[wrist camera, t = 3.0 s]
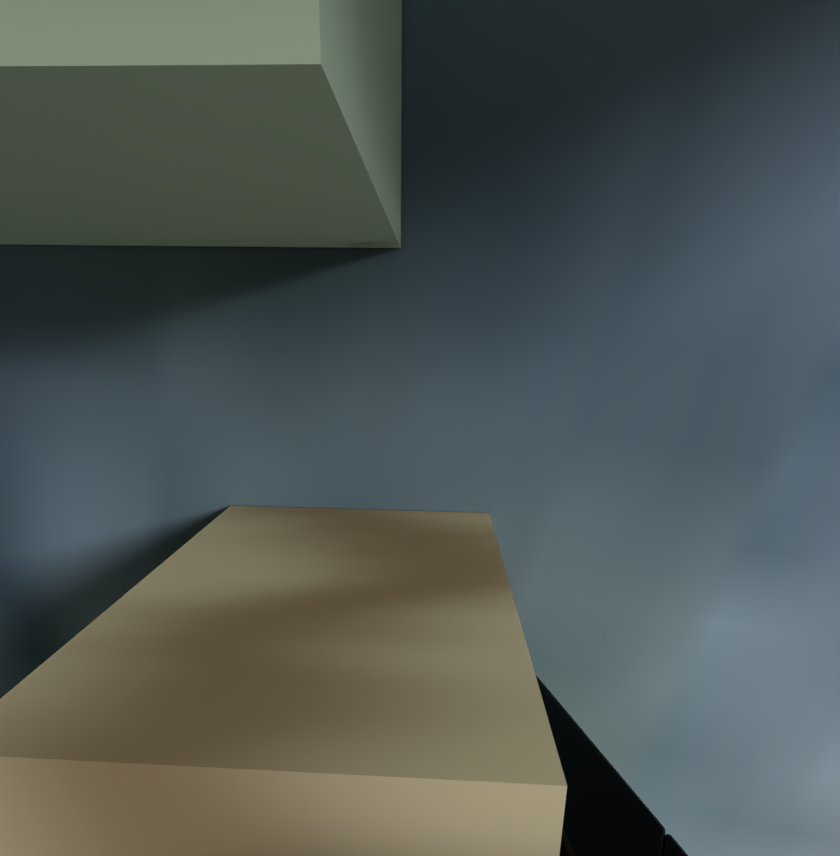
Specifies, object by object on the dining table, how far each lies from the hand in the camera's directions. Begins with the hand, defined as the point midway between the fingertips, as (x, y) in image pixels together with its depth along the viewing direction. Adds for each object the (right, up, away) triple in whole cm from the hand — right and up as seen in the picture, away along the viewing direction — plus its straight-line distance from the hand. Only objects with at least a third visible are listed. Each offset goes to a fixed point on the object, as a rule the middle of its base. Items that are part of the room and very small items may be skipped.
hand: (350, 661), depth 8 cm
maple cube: (0, 0, +1) cm, 1 cm away
